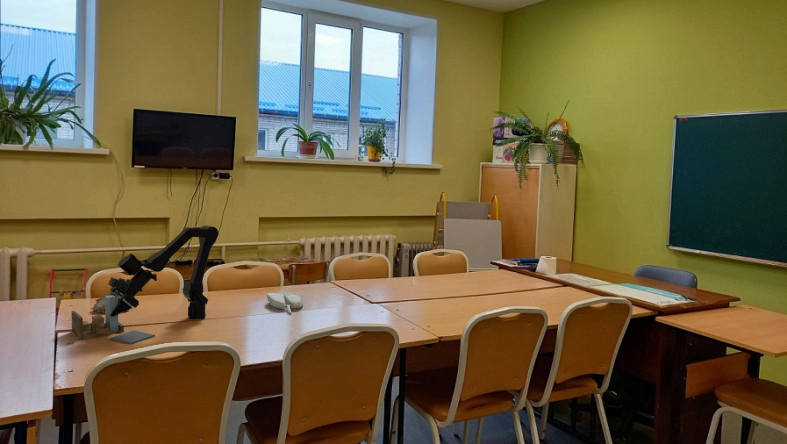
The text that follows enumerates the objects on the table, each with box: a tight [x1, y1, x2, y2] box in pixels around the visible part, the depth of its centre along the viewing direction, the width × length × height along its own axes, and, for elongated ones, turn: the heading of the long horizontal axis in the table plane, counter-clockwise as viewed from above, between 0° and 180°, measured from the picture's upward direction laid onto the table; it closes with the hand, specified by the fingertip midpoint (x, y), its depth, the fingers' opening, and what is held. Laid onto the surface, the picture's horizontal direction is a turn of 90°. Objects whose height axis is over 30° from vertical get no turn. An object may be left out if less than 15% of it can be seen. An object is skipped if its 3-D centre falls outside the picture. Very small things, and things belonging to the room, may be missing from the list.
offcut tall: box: [91, 314, 105, 330], centre depth 220 cm, size 3×5×6 cm, turn 41°
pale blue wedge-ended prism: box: [104, 295, 119, 333], centre depth 223 cm, size 3×6×13 cm, turn 41°
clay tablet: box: [93, 296, 129, 314], centre depth 257 cm, size 14×5×20 cm
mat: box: [108, 330, 156, 345], centre depth 215 cm, size 11×11×1 cm
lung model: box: [266, 292, 304, 315], centre depth 268 cm, size 7×17×25 cm
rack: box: [71, 310, 125, 340], centre depth 220 cm, size 15×12×8 cm
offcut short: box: [83, 320, 91, 332], centre depth 217 cm, size 3×5×4 cm, turn 42°
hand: (107, 313), depth 222 cm, fingers open, 8 cm apart
